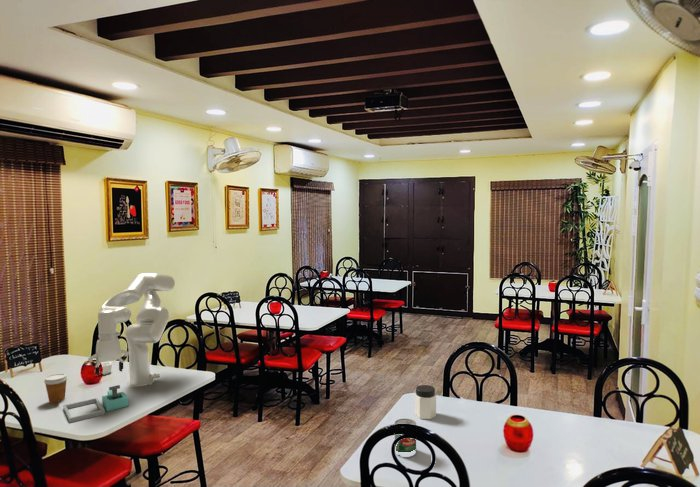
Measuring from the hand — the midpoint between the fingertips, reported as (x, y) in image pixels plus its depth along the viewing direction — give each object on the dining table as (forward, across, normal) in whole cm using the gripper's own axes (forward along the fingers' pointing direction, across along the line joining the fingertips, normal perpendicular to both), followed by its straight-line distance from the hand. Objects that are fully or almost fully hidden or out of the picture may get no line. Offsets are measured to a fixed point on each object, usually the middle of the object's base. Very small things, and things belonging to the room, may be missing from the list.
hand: (109, 372), depth 229 cm
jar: (+15, -104, +102) cm, 146 cm away
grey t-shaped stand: (+15, 0, +7) cm, 16 cm away
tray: (+15, +12, +6) cm, 20 cm away
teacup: (+14, -6, -47) cm, 49 cm away
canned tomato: (+15, -75, +119) cm, 142 cm away
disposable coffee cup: (+15, +20, -19) cm, 31 cm away
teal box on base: (+13, 0, +4) cm, 14 cm away
